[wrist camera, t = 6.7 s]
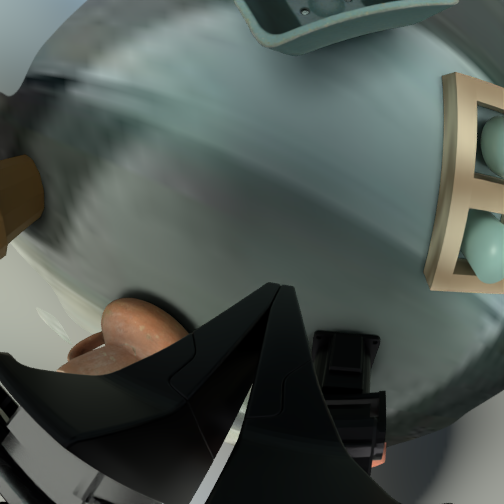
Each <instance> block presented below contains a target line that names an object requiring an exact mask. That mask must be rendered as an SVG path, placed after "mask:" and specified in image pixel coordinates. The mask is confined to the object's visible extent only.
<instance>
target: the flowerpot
mask: <svg viewBox="0 0 504 504" xmlns="http://www.w3.org/2000/svg"><path fill="white" fill-rule="evenodd" d="M43 210H44V190H43V186H42V182H41V177H40V173H39V171H38V169H37V168H36V165H35V163H34V161H33V160H32V159H31V158H30V157H28V156H27V155H21V156H16V157H12V158H8V159H4V160H1V161H0V259H1V258H3V257H4V256H6V252H7V246H8V244H9V243H10V242H11V241H12V240H13V239H14V238H15V237H17V236H18V235H19V234H20V233H21V232H22V231H24V230H25V229H26V228H27V227H28V226H30V225H31V224H32V223H33V222H35V221H36V220H37V219H38V218H40V217H41V215H42V212H43Z"/></svg>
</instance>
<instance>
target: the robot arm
mask: <svg viewBox="0 0 504 504" xmlns="http://www.w3.org/2000/svg"><path fill="white" fill-rule="evenodd" d="M319 336H320V337H319ZM379 345H380V338H379V337H378V336H369V335H356V334H344V333H333V332H324V331H317V332H315V333H314V337H313V347H312V355H311V351H310V347H309V343H308V339H307V335H306V331H305V327H304V323H303V319H302V315H301V311H300V307H299V303H298V299H297V296H296V292H295V288H294V287H293V286H288V285H280V284H276V283H271V282H268V283H266V284H265V285H263V286H262V287H260V288H259V289H257V290H256V291H254V292H253V293H251V294H250V295H248V296H247V297H245V298H244V299H242V300H241V301H239V302H238V303H236V304H235V305H233V306H232V307H230V308H229V309H227V310H226V311H224V312H223V313H221V314H219V315H218V316H216V317H215V318H213V319H212V320H210V321H209V322H207V323H206V324H204V325H202V326H201V327H199V328H198V329H196V330H195V331H193V334H192V333H190V334H188V335H186V336H185V337H183V338H182V339H180V340H178V341H177V342H175V343H173V344H171V345H170V346H168V347H166V348H164V349H162V350H160V351H158V352H156V353H154V354H152V355H150V356H148V357H146V358H144V359H142V360H139V361H137V362H135V363H133V364H131V365H129V366H126V367H124V368H122V369H120V370H117V371H115V372H112V373H109V374H104V375H82V374H72V373H63V372H54V371H47V370H40V369H35V368H30V367H27V366H24V365H22V364H20V363H19V362H17V361H16V360H15V359H14V358H13V357H12V356H11V355H10V354H9V353H5V352H0V381H1V383H2V384H3V385H4V387H5V388H6V389H7V390H8V391H9V393H10V394H11V395H12V396H13V398H14V399H15V400H16V401H17V402H18V403H19V404H20V406H19V405H18V404H17V403H16V402H15V401H14V400H13V399H12V397H11V396H10V395H9V394H8V393H7V392H6V391H5V390H4V389H3V387H2V386H1V385H0V494H1V496H2V497H3V498H4V499H5V501H6V502H0V504H162V503H163V504H189V503H190V502H191V500H192V498H193V496H194V495H195V493H196V491H197V490H198V488H199V486H200V484H201V482H202V481H203V479H204V477H205V475H206V474H207V472H208V470H209V468H210V466H211V465H212V463H213V461H214V460H213V459H215V457H216V455H217V453H218V451H219V449H220V448H221V446H222V444H223V442H224V440H225V438H226V436H227V434H228V432H229V430H230V428H231V426H232V424H233V422H234V420H235V418H236V416H237V414H238V412H239V410H240V408H241V406H242V404H243V402H244V400H245V398H246V396H247V394H248V392H249V389H250V387H251V385H252V388H251V393H250V397H249V401H248V405H247V409H246V413H245V417H244V421H243V424H242V428H241V431H240V434H239V437H238V440H237V442H236V444H235V446H234V448H233V450H232V452H231V454H230V457H229V458H228V460H227V462H226V465H225V466H224V468H223V470H222V472H221V474H220V476H219V478H218V480H217V482H216V484H215V486H214V488H213V489H212V491H211V493H210V495H209V497H208V499H207V500H206V502H205V504H401V503H399V502H397V501H396V500H395V499H393V498H392V497H391V496H390V495H388V494H387V493H386V492H385V491H384V490H383V489H382V488H381V487H380V486H379V485H378V484H377V483H376V482H375V481H374V480H373V479H372V478H371V477H370V473H371V468H372V461H373V460H381V459H382V456H383V450H384V443H385V434H386V392H385V391H379V392H375V393H370V372H371V367H372V364H373V362H374V359H375V356H376V353H377V351H378V348H379ZM252 383H253V384H252ZM444 504H445V503H444ZM446 504H452V503H446Z"/></svg>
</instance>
